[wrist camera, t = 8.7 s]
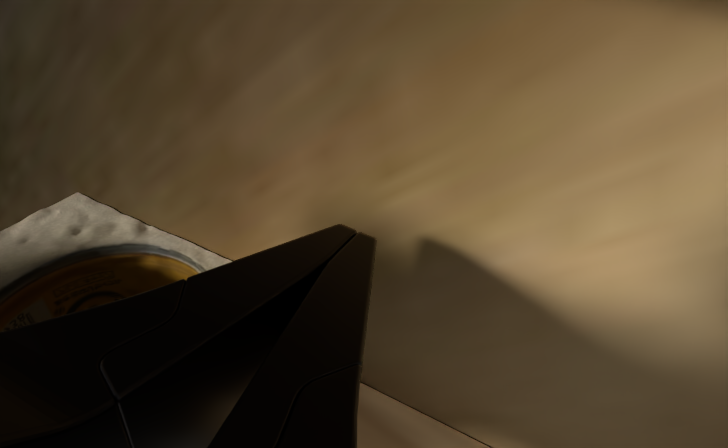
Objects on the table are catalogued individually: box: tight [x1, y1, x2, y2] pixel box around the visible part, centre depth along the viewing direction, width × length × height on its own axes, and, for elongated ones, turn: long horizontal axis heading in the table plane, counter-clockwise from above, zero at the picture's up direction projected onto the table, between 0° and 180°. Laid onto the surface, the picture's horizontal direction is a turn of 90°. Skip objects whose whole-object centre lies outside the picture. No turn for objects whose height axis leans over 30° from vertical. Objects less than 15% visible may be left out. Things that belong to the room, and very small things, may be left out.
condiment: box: [0, 192, 233, 332], centre depth 14 cm, size 7×8×12 cm
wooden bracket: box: [357, 383, 490, 448], centre depth 7 cm, size 15×12×3 cm
